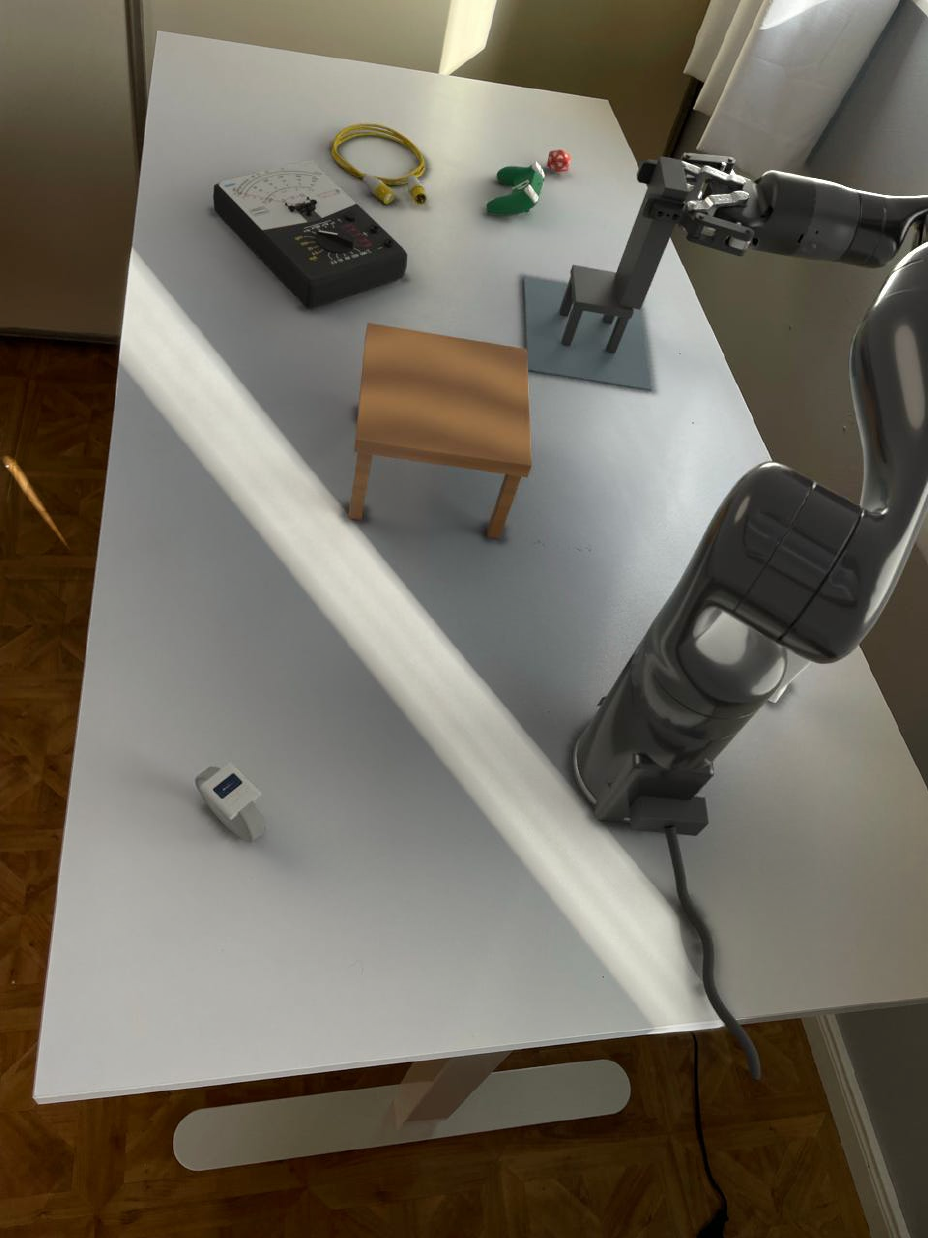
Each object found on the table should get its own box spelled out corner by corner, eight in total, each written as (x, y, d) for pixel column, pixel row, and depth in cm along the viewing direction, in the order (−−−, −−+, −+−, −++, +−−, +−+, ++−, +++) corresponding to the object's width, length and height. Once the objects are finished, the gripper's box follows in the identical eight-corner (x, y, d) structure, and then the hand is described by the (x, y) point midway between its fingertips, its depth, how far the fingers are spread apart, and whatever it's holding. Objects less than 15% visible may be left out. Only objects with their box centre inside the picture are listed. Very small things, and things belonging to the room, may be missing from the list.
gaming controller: (498, 233, 124) (539, 213, 121) (482, 207, 122) (524, 186, 119) (510, 194, 129) (550, 174, 126) (495, 168, 127) (536, 147, 124)
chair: (618, 318, 116) (681, 157, 100) (623, 356, 112) (689, 194, 96) (558, 308, 115) (612, 143, 99) (560, 345, 111) (617, 180, 95)
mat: (651, 390, 110) (651, 389, 110) (527, 370, 108) (528, 369, 108) (637, 298, 119) (638, 297, 119) (523, 278, 117) (524, 276, 117)
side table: (503, 542, 93) (532, 465, 85) (343, 521, 91) (355, 439, 82) (501, 428, 102) (527, 348, 93) (355, 406, 99) (367, 322, 91)
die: (541, 164, 132) (547, 142, 129) (563, 165, 133) (569, 143, 130) (548, 177, 130) (554, 156, 128) (569, 178, 131) (576, 157, 129)
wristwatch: (273, 834, 73) (276, 806, 69) (243, 859, 71) (245, 832, 67) (216, 777, 75) (216, 746, 70) (187, 801, 73) (185, 771, 69)
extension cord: (323, 194, 118) (324, 178, 117) (337, 124, 128) (338, 108, 126) (424, 214, 120) (426, 199, 119) (430, 143, 129) (433, 129, 128)
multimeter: (308, 313, 106) (312, 273, 102) (211, 210, 112) (211, 169, 108) (405, 280, 112) (412, 241, 108) (308, 185, 119) (311, 145, 115)
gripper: (804, 144, 102) (647, 112, 100) (833, 227, 94) (662, 194, 92) (772, 209, 108) (623, 180, 106) (796, 292, 100) (635, 263, 98)
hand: (642, 187), depth 99 cm, fingers closed on chair, 5 cm apart
